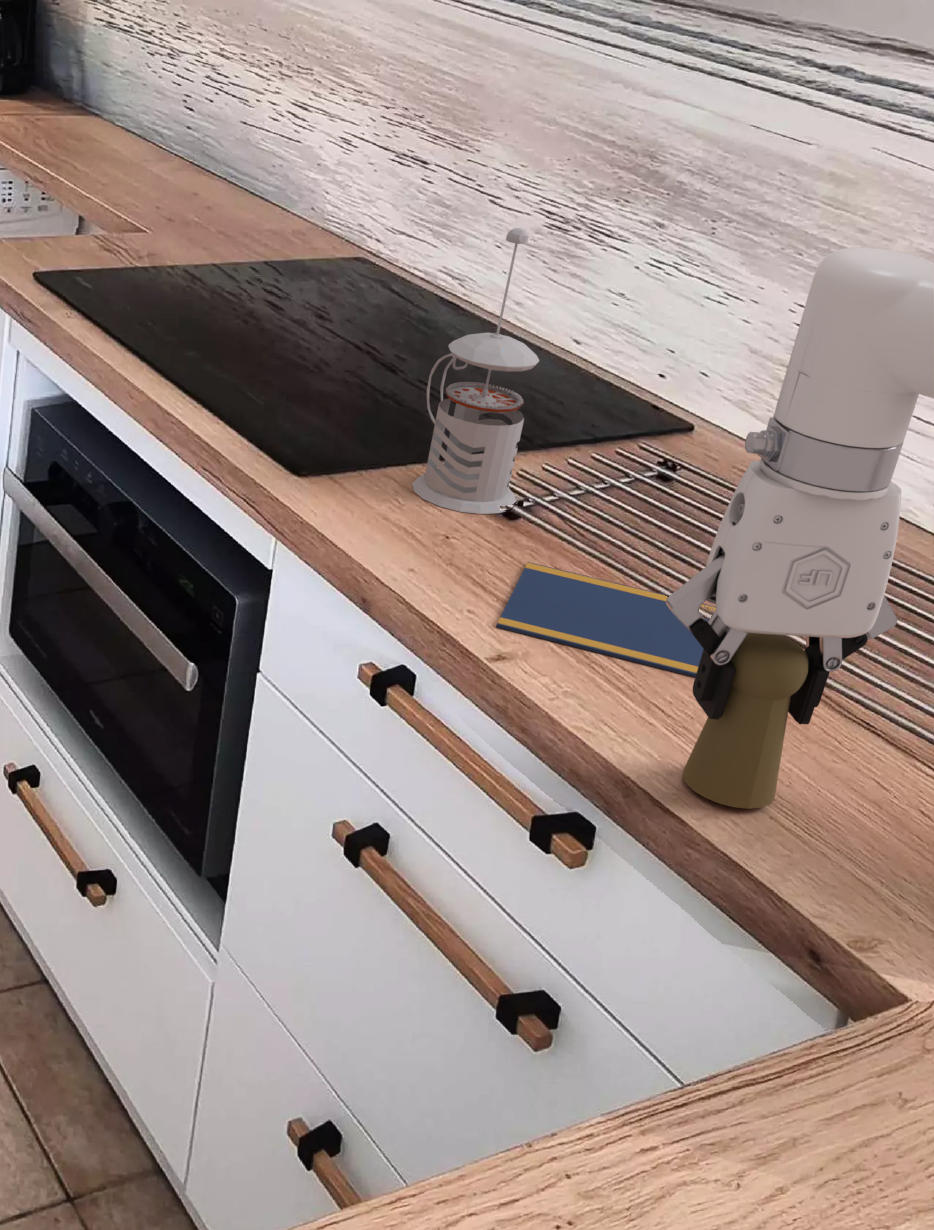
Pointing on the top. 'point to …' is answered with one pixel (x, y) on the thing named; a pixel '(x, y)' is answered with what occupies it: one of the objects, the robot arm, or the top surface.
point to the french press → (477, 423)
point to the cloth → (601, 618)
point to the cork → (749, 725)
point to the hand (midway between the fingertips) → (751, 709)
